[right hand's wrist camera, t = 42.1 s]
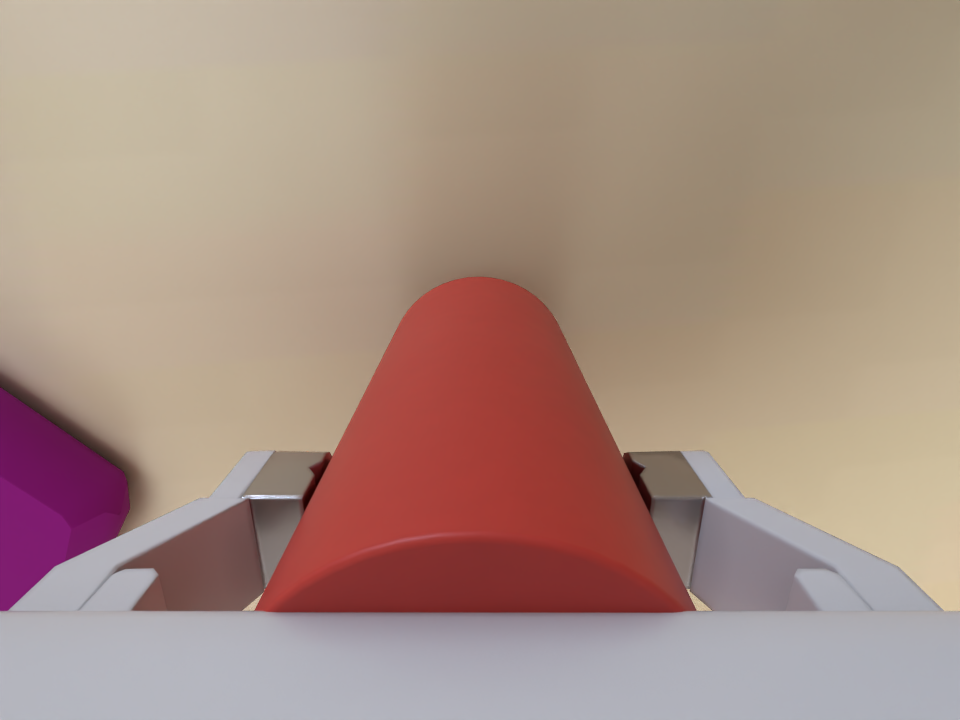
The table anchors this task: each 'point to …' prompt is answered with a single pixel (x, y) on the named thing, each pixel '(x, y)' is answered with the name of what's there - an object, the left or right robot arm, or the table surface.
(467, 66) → the table surface
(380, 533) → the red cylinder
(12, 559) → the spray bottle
